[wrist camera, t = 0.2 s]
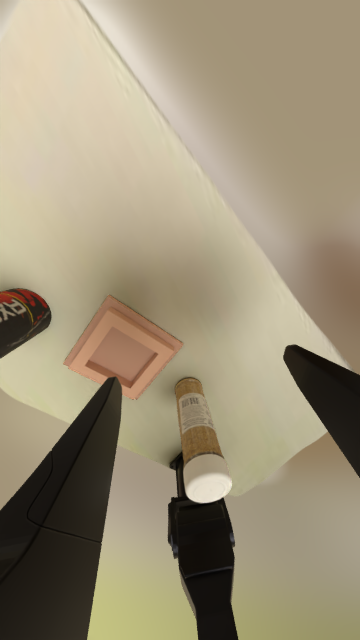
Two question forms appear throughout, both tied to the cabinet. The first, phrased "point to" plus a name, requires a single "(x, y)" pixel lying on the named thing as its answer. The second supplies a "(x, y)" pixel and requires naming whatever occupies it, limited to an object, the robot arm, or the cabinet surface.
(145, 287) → the cabinet surface
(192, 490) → the sprinkles bottle
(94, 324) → the tray
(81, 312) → the cabinet surface
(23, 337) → the deodorant
